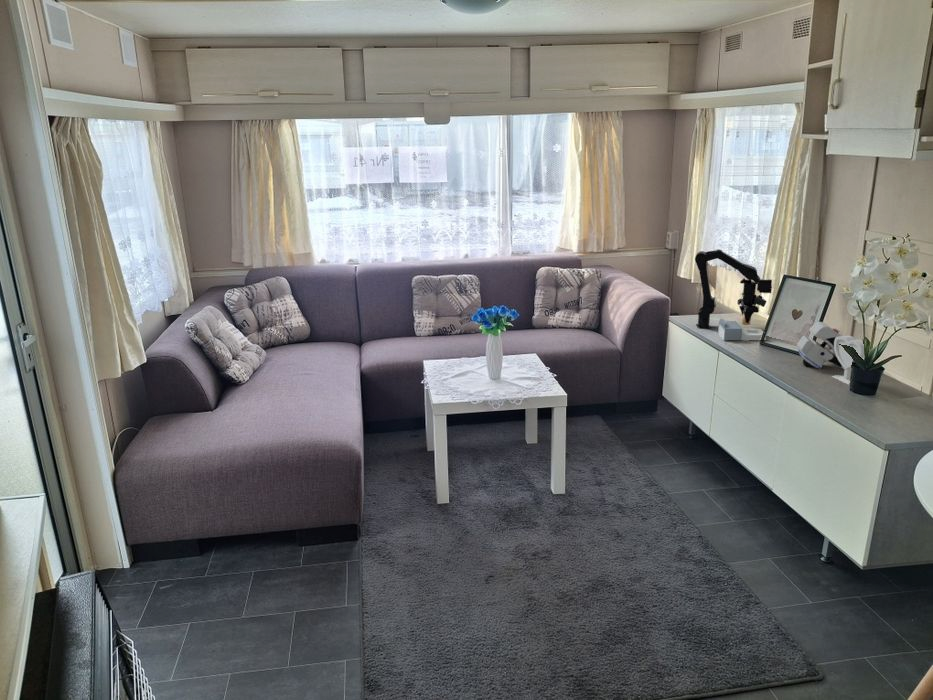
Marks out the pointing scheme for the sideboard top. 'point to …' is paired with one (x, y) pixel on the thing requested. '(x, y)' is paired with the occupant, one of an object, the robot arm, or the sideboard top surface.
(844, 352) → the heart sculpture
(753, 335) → the housing
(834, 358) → the robotic device
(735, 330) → the cabinet
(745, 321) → the rounded peg
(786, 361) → the sideboard top surface
